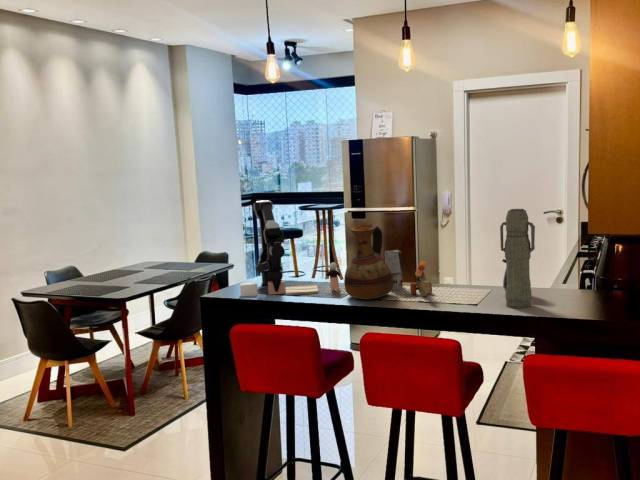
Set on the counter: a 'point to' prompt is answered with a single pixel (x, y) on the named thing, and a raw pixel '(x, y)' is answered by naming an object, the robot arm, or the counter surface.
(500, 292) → the counter surface
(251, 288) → the offwhite brick
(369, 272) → the ceramic pitcher
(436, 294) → the counter surface
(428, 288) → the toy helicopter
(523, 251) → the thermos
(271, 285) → the terracotta brick
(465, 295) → the counter surface
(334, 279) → the grandmother figurine
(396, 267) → the coffee box
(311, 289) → the oak board
